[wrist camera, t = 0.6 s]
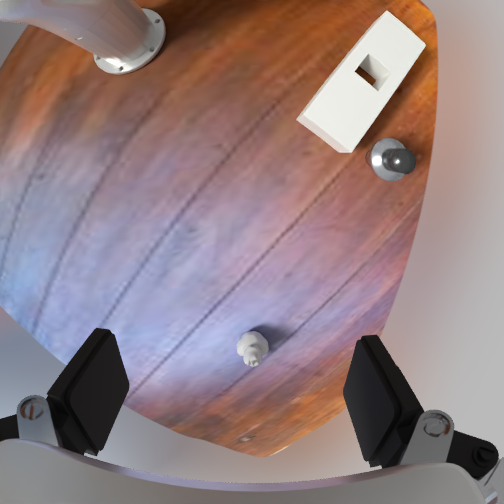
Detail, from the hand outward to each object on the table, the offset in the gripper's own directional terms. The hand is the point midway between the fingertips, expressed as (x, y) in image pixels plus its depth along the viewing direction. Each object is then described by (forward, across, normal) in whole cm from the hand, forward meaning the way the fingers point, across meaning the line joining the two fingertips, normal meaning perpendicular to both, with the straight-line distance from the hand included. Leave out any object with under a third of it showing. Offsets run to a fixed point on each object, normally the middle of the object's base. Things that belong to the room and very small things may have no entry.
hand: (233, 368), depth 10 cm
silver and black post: (+34, -19, -9) cm, 40 cm away
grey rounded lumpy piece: (+34, -1, +24) cm, 42 cm away
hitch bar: (+34, -17, -21) cm, 43 cm away
